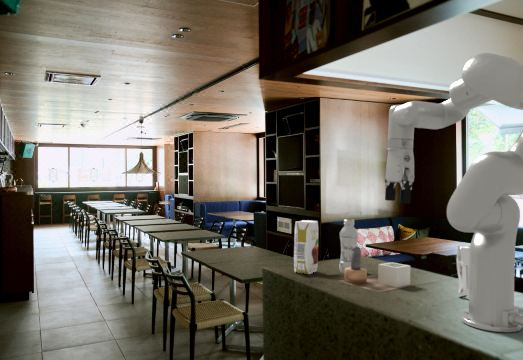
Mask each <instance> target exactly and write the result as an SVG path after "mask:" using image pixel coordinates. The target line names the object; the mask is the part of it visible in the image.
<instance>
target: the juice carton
mask: <svg viewBox="0 0 523 360" xmlns="http://www.w3.org/2000/svg"><path fill="white" fill-rule="evenodd" d="M293 241H294V242H293V243H294V244H293V246H294V247H293V267H294V268H293V271H294V273H296V272H297V274H303V273H304V275H305V274H306V275H311V274H313V272H314V273H315V272H317V269H318V263H319V221H318V220H312V219H311V220H309V219H307V220H305V219H302V220H299V221H295V224H294V238H293Z"/></svg>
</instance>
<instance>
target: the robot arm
mask: <svg viewBox="0 0 523 360" xmlns="http://www.w3.org/2000/svg"><path fill="white" fill-rule="evenodd" d="M448 90H449V91H448V92H449V94H448V95H449V97H450V98H449V99H447V100H444V101H443V102H440V103H436V102H428V101H422V100H411V101H408V102H405V103H403V104H394V105H391V107H390V108H389V111H388V124H387V127H388V128H387V129H388V130H387V144H386V145H387V146H386V149H387V151H388V152H387V159H386V168H385V173H384V183H385V185H384V187H385V190H384V191H385V192H384V193H385V195H384V200H385V201H390V202H391V201H392V202H394V201H396V194H397V193H396V192H397V191H396V190H397V188H396V185H397V183H398V184H399V185H400V189H399V203H400V204H411V197H412V189H413V185H414V182H415V156H414V139H415V138H414V137H415V136H414V135H415V134H414V133H415V128H417V129H427V130H428V129H429V130H439V129H444V128H446V127H449V126H451V125H455V124H456V123H459V122H460V121H462V120H464V118H466V116H467V115H468V114H469V113H470V112H471V110H473V109H475V108H477V107H480V106H481V105H484V104H487V103H489V102H491V101H495V102H496V103H499V104H501V105H504V106H506V107H508V108H512V109H515V110H522V111H523V64H521V63H520V62H519V61H518V60H517V59H514V58H512V57H508V56H504V55H499V54H495V53H492V52H491V53H490V52H482V53H478V54H476V55H474V56H473V57H471V58H470V59H469V60H468V61H467V62H465V64H464V66H463V68H462V71H461V77H459V78H457V79H455V80H453V82H452V83H451V84H450V86H449V89H448ZM519 195H520V196H521V195H523V130H522V131H521V132H520V133H519V134H518V137H517V138H516V140H515V141H514V143H513V144H512V145H511V147H510V148H509V149H508V150H507V151H489V152H486V153H483V154H481V155H479V156H478V157H477V158H475V160H473V161H472V163H471V164H470V166H469V167H468V168H467V170H466V172H465V174H464V175H463V177H462V178H461V180H460V182H459V183H458V185H457V186H456V188H455V189H454V191H453V193H452V195H451V196H450V199H449V200H448V203H447V205H446V218H447V221H448V222H449V224H450V225H451V227H453V228H454V229H455V230H457V231H459V232H463V233H473V235H472V238H471V242H470V245H469V246H470V261H469V300H468V311H467V312H462V314H461V321H462V322H463V323H464V324H466V325H468V326H471V327H473V328H476V329H480V330H483V331H487V332H489V331H490V332H495V333H496V332H498V333H517V332H520V331H521V329H522V327H523V315H521V313H519V308H518V307H515V267H516V265H515V263H516V262H515V261H516V241H517V234H518V229H519V224H520V221H521V220H520V218H521V211H520V207H519V204H518V202H517V201H516V200H515V198H513V197H512V196H519Z"/></svg>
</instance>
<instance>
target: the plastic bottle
mask: <svg viewBox="0 0 523 360" xmlns="http://www.w3.org/2000/svg"><path fill="white" fill-rule="evenodd" d="M343 225H344V226H343V227H342V228H341V230H340V231H339V240H340V260H339V265H338V269H339V271H340V273H341V274H345V268H347V267H351V249H352V247H354V246H358V236H359V233H358V231H357V229H356V228H355V227H354V226H355V220H354V219H343Z"/></svg>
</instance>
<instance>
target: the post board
mask: <svg viewBox="0 0 523 360" xmlns="http://www.w3.org/2000/svg"><path fill="white" fill-rule="evenodd" d="M361 254H362V249H361V247H359V246H358V245H356V246H354V247H352V249H351V267H347V268H345V273H344V278H343V279H339V280H337V282H339V283H343V284H346V285H351V286H354V287H358V288H360V289H364V290H365V289H366V290H369V291H371V292H376V293H382V292H387V291H392V290H397V289H401V288H402V289H403V288H408V287H412V286H415V284H413V283H410V285H407V286H402V287H392V286H388V285H384V284H380V283H378V275H373V274H370V275H368V274H367V273H368V270H367V269H366V268H364V267H361V266H362V265H361V262H362V259H361V256H362V255H361Z"/></svg>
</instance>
